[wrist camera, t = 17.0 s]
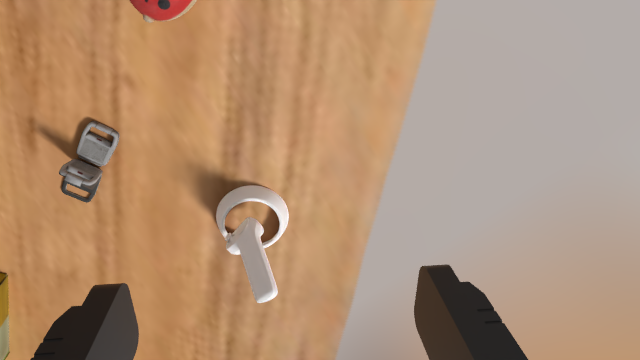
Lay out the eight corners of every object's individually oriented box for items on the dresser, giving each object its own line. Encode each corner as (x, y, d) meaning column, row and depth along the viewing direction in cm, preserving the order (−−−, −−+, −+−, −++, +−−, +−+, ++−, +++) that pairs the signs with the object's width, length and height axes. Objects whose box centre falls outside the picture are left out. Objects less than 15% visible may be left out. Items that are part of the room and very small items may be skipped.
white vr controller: (283, 314, 45) (231, 323, 40) (248, 219, 50) (197, 216, 45) (331, 280, 41) (281, 285, 36) (287, 182, 47) (238, 174, 42)
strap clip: (91, 117, 39) (71, 132, 35) (123, 132, 40) (107, 149, 36) (61, 189, 42) (40, 210, 38) (92, 202, 43) (74, 224, 39)
